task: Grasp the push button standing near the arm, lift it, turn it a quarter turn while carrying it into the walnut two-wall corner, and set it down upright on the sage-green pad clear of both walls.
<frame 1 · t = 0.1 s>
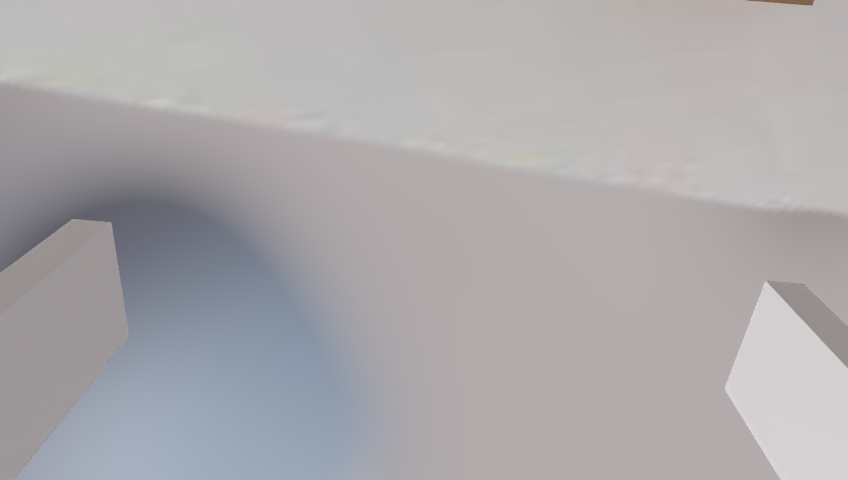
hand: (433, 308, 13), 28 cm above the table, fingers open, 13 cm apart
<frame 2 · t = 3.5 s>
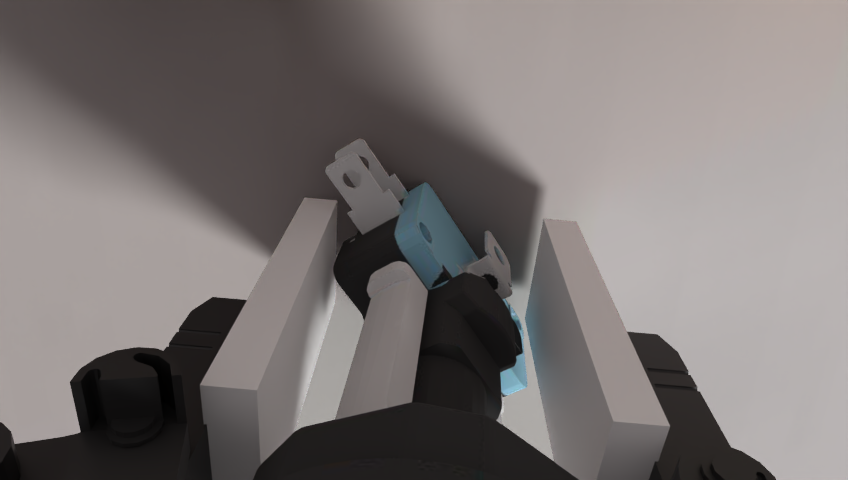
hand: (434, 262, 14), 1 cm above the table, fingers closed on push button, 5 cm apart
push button: (433, 245, 15), on the table, touching gripper
when the fingers open (1 cm above the table, at t = 7.9 s): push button stays where it is, resting on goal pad.
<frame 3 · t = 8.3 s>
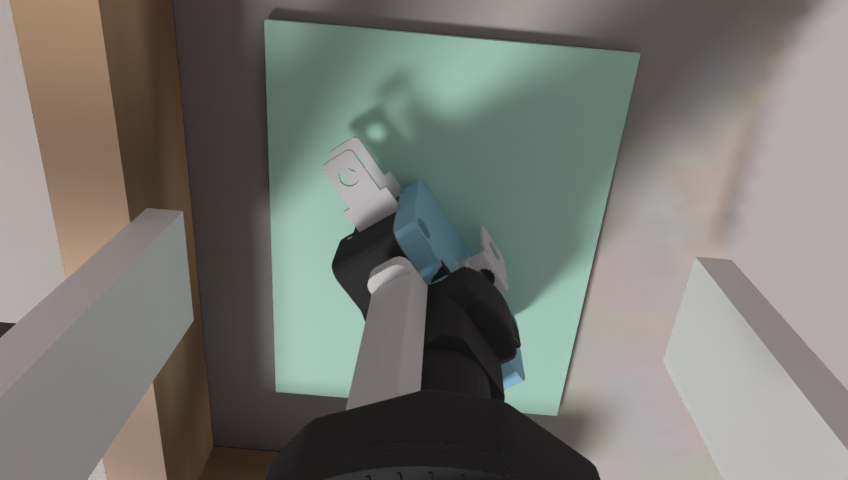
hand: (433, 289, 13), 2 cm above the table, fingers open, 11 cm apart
wooden l-shaped wall: (356, 118, 14), on the table
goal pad: (432, 243, 15), on the table
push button: (427, 242, 15), resting on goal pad
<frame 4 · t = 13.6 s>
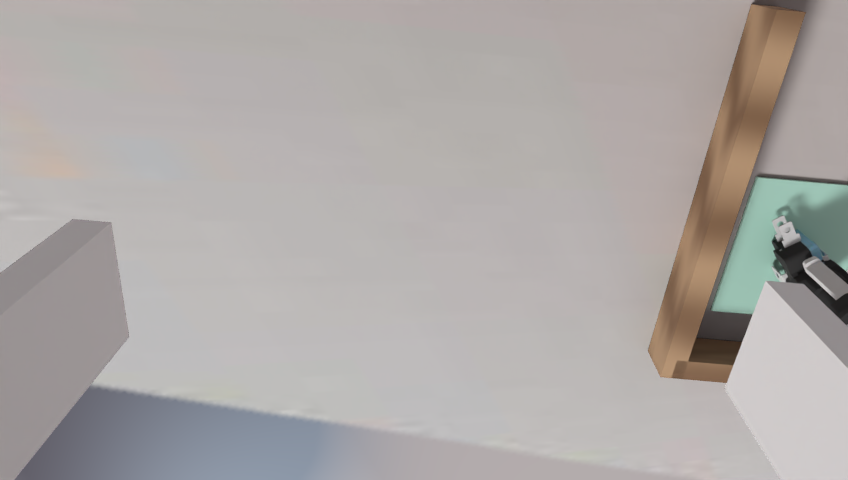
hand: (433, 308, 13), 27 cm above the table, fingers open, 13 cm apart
wooden l-shaped wall: (776, 208, 40), on the table
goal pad: (791, 251, 41), on the table
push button: (789, 251, 41), resting on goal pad
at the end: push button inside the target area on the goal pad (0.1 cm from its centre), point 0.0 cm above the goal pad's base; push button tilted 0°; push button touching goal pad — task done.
